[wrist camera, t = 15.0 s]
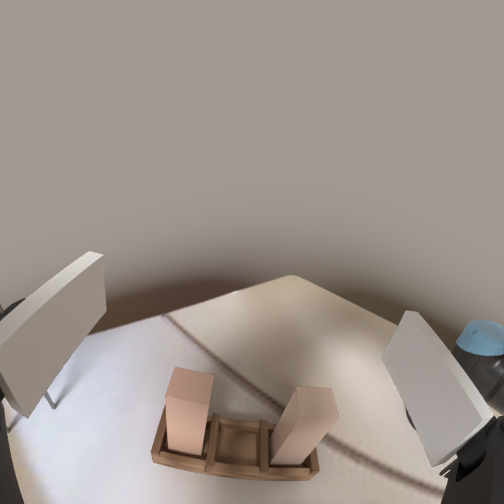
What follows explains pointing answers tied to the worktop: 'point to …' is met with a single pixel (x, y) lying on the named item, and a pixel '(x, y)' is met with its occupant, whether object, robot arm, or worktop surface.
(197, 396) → the clay bar
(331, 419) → the clay bar
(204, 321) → the worktop surface
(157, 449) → the rack
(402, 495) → the worktop surface
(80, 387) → the worktop surface
